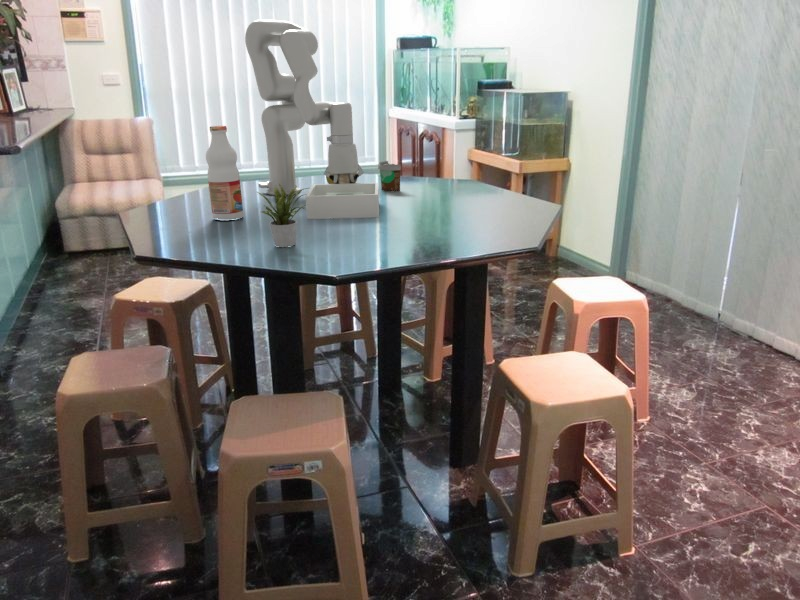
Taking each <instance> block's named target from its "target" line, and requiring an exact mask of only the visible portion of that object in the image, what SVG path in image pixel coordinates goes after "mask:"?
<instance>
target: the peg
mask: <svg viewBox="0 0 800 600" xmlns="http://www.w3.org/2000/svg"><path fill="white" fill-rule="evenodd" d="M338 181H339V184H350V175H349V174H338Z"/></svg>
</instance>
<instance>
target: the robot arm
mask: <svg viewBox="0 0 800 600" xmlns="http://www.w3.org/2000/svg"><path fill="white" fill-rule="evenodd" d="M244 41H245V46H246V50H247V53H248V55H249V58H250V61H251V64H252V68H253V73H254V77H255V80H256V85H257V89H258V93H259V96H260V97H261V99H262V100H263V101H265V102H270V103H271V102H281V103H282V104H273V105H269V106H267V107H266V108H264V110H263V111H262V114H261V124H262V125H261V126H262V128H263V132H264V135H265V136H264V137H265V142H266V151H267V162H268V164H267V165H268V171H269V172H268V175H269V180H268V181H266V182H258V188H261V189H266V188H267V190H266V194H267V195H271V196H275V192H274V188H277V187H278V189H279V191H280V194H281V189H280V186H279V184H280V185H281V186H282V188H283V190H284V191H285V192H286V196H288V195H289V194H290V192H291V190H292V189H293V188H295V187H297V188H296V189H295V192H294V195H295V193H297V192H298V191H300V190H302V189H301V188H300V187H298V186H297V182H296V169H295V168H296V167H295V158H294V157H295V156H294V154H295V153H294V144H293V140H292V138H291V136H290V134H289V132H292V131H298V130H301V129H302V128H303V127H304V126H305V124H307V125H309V126H320V125H328V124H329V125H330V135H329V136H326V141H327V142H330V144H329V145H328V152H327V153H328V154H327V160H328V161H327V162H328V163H327V167H326V168H325V170H324V172H323V175H324V176H325V177H326V176H327V177H329V178H330V179H331V180H332V181H333V182H334V183H335V184H339V182H338V174H349V175H350V179H351V180H350V184H352V183H354V181H355V180H356V179H357V180H358V178H359V177H361V176H362V175H363V174H364V173H365V171H364V170H363V169H362V167H361V165H360V164H359V160H358V157H359V156H358V151H357V150H358V149H357V145H356V143H354V132H353V131H354V130H353V129H354V127H353V125H354V124H353V111H352V109H353V106H352V104H351V103H350V102H346V101H341V102H339V101H338V102H334V101H314V99H313V96H312V94H311V92H310V88H309V87H310V86H309V83H310V81H311V80H313V79H314V78H315V77H316V75H317V74H318V72H319V71H318V70H319V69H318V67H317V65H316V63H315V60H314V58H313V57H312V56H314V55H315V54H316V53H317V51H318V47H319V42H318V39H317V37H316V35H315V33H313V32H312V31H310V30H309V29H306V28H304V27H302V26H299V25H298V24H295V23H293V22H291V21H287V20H280V19H278V20H277V19H264V18H263V19H256V20H254V21H252V22H251V23H249V25H248V27H247V28H246V31H245V37H244ZM269 46H271V47H280V48H281V52H282V53H283V56H284V58H285V60H286V62H287V64H288V67H289V69H290V72H291V74H292V75H291V74H288V73H280V70H279V68H278V67H279V66H278V63H277V62H278V61H277V60H276V57H275V56H274V54H273V53H272V51H271V49H270V48H269ZM330 173H331V174H330ZM355 173H357V174H355ZM332 174H334V176H333V175H332ZM354 174H355V176H354ZM276 186H277V187H276ZM278 189H277V190H278Z"/></svg>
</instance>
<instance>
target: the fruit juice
mask: <svg viewBox="0 0 800 600" xmlns="http://www.w3.org/2000/svg"><path fill="white" fill-rule="evenodd" d="M209 132H210V135H211V140H210V145H209V146H208V149H207V150H206V153H205V160H206V163H207V166H208V169H207V182H208V191H209V192H208V193H209V197H210V199H209V200H210V205H211V207H210V208H211V215H212V219H213V218H218V219H236V218H241V217H243V218H244V207H243V197H242V196H243V195H242V189H241V179H240V172H239V168H238V167H237V160H238V155H237V152H236V150H235V149H234V148H233V147H232V145H231V144H230V142H229V139H228V135H227V132H228V128H227V125H211V126H209Z"/></svg>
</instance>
